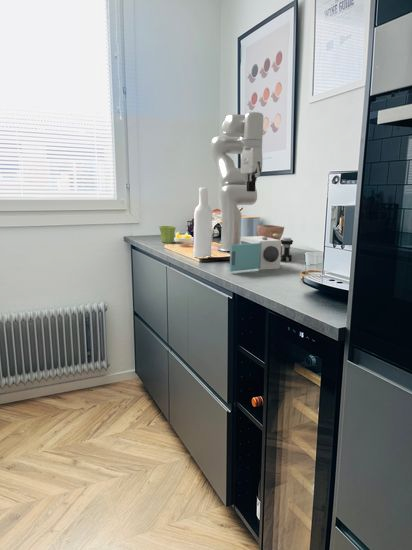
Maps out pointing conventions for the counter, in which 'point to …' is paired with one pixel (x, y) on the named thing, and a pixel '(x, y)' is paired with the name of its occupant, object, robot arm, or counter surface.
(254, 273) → the counter surface
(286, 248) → the push button
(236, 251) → the side door
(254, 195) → the robot arm
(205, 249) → the bottle
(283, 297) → the counter surface
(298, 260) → the counter surface
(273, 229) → the ceramic jug
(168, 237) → the plant pot
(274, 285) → the counter surface
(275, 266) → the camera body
